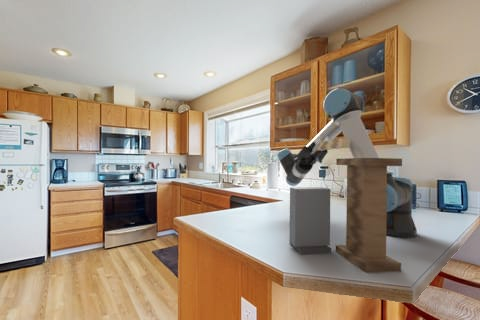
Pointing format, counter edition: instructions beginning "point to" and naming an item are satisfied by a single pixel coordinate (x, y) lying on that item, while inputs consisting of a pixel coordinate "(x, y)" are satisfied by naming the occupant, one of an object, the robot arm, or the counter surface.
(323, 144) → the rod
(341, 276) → the counter surface
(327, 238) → the grey rectangular block
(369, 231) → the stand
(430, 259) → the counter surface
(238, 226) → the counter surface
